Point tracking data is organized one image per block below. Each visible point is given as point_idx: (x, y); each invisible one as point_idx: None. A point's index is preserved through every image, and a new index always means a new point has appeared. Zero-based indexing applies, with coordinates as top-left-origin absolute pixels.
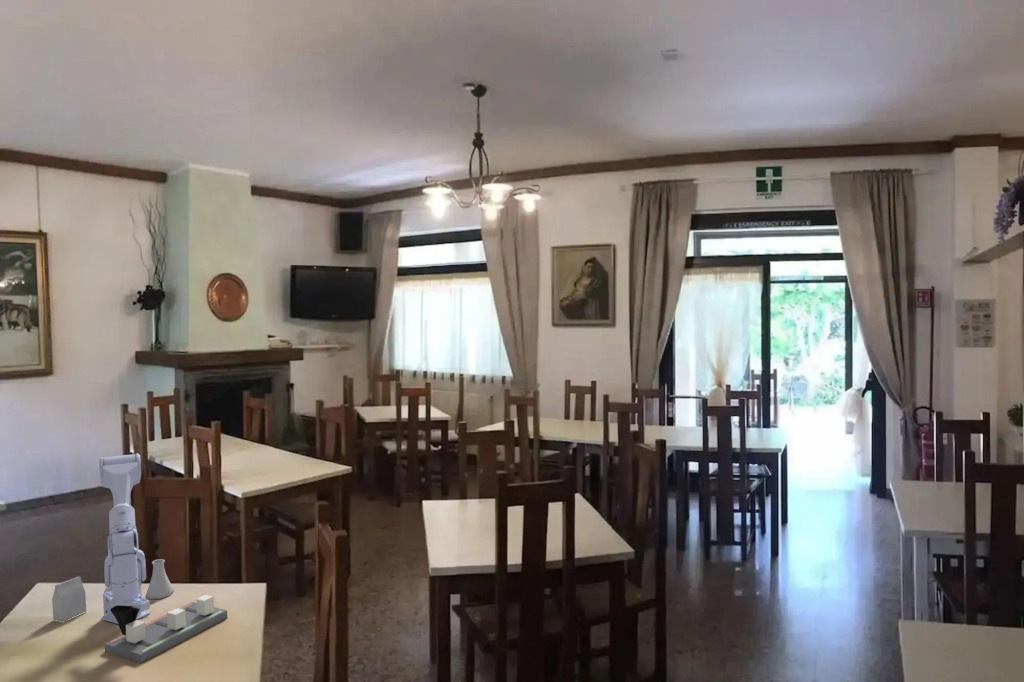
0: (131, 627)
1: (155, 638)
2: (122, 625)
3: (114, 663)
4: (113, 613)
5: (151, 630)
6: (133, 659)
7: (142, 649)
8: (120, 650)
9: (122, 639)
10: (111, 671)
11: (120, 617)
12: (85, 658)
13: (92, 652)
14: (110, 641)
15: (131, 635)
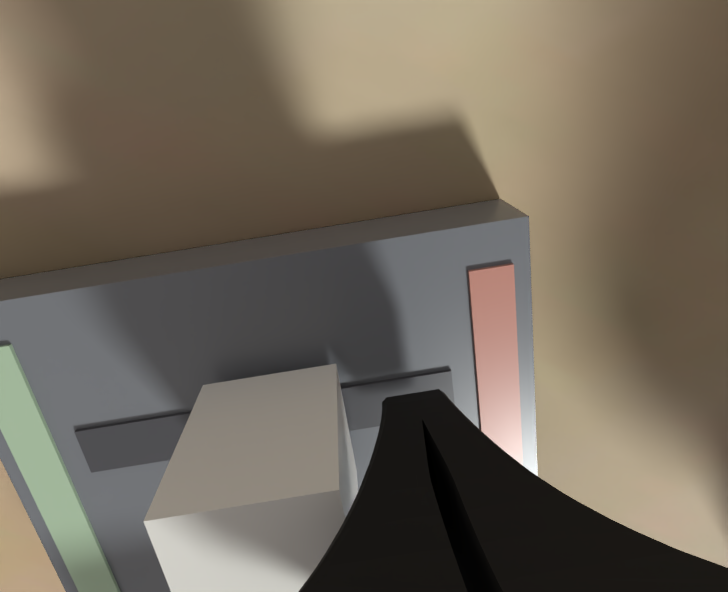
0: (203, 502)
1: None
2: (404, 462)
3: (178, 130)
4: (640, 563)
5: None
6: (86, 267)
7: (44, 374)
8: (265, 252)
9: (447, 364)
10: (15, 18)
11: (419, 558)
12: (545, 7)
13: (599, 121)
14: (509, 274)
15: (235, 423)
